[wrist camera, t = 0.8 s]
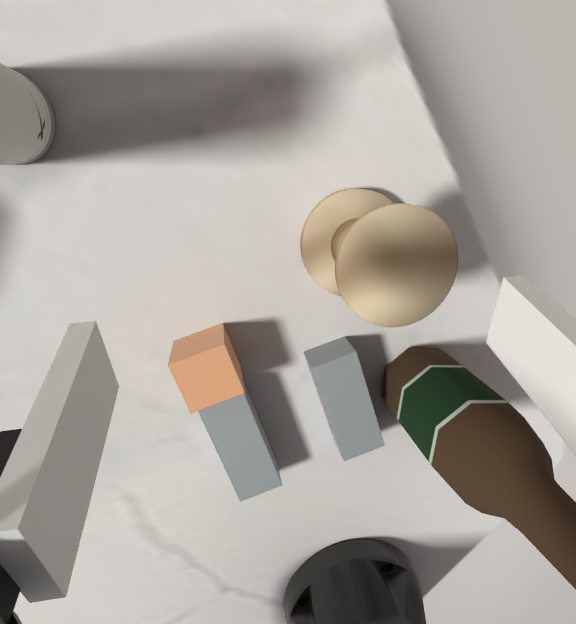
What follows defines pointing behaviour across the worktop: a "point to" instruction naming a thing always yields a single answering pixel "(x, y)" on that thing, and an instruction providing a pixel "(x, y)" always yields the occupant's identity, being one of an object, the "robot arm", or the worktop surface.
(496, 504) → the beer bottle
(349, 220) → the bobbin
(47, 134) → the travel mug
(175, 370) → the block
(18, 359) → the worktop surface
